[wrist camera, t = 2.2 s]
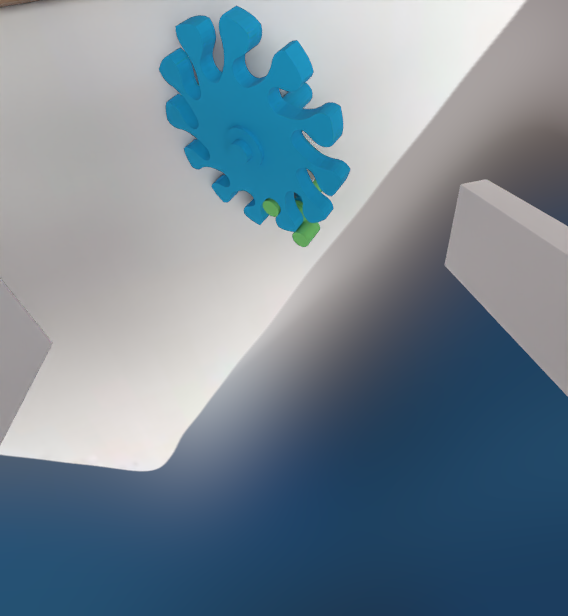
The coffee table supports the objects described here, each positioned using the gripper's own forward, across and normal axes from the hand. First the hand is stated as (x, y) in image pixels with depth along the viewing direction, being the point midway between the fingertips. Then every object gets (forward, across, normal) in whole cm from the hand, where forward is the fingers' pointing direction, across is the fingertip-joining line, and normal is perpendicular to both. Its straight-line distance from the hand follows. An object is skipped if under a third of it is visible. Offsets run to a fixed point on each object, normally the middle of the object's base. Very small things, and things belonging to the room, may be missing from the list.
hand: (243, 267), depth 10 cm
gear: (+14, -1, 0) cm, 14 cm away
